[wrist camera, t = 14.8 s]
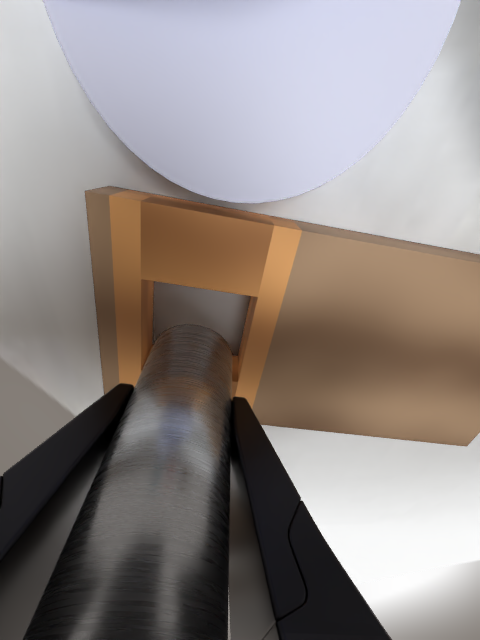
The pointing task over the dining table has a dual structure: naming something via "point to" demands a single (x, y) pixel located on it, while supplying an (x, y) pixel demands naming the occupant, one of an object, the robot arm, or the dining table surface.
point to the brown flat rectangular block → (300, 314)
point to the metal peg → (154, 509)
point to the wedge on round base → (251, 83)
